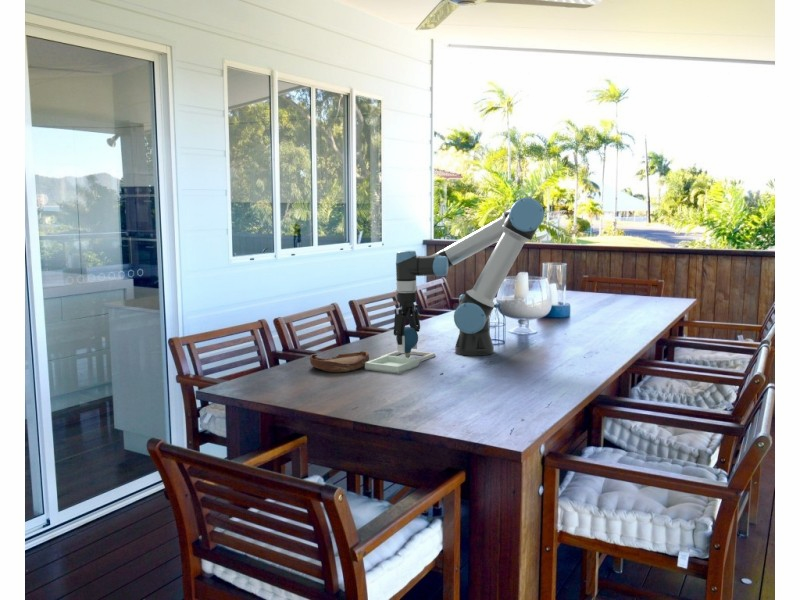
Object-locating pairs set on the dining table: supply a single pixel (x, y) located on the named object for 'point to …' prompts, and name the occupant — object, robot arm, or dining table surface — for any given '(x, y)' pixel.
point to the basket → (341, 362)
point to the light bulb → (409, 340)
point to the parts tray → (392, 364)
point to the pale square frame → (425, 354)
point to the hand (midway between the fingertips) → (407, 350)
